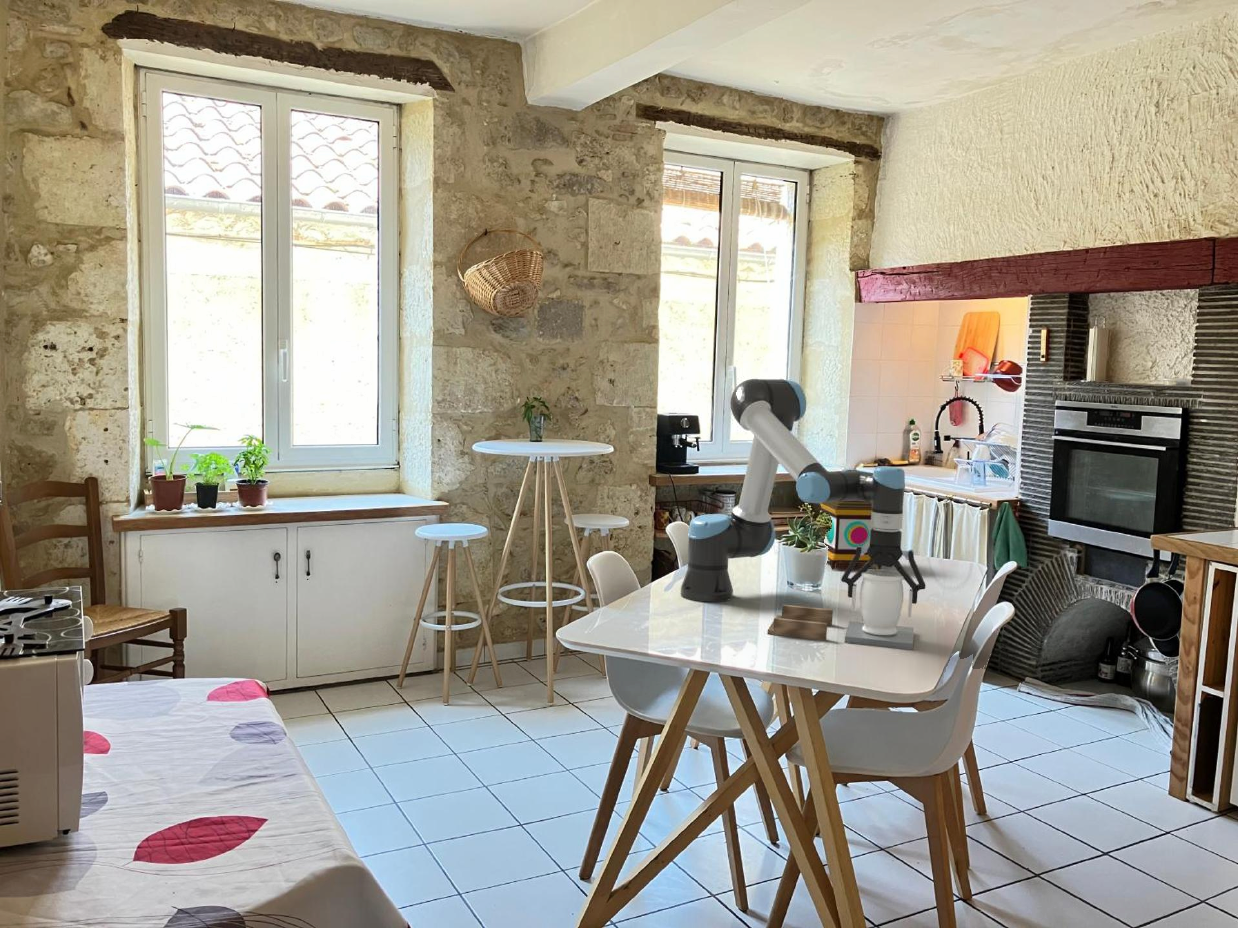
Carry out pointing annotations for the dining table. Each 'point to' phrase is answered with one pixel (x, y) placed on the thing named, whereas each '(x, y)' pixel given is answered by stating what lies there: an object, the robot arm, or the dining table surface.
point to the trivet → (880, 636)
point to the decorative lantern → (848, 530)
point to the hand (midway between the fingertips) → (881, 613)
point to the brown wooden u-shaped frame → (802, 622)
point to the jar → (881, 601)
